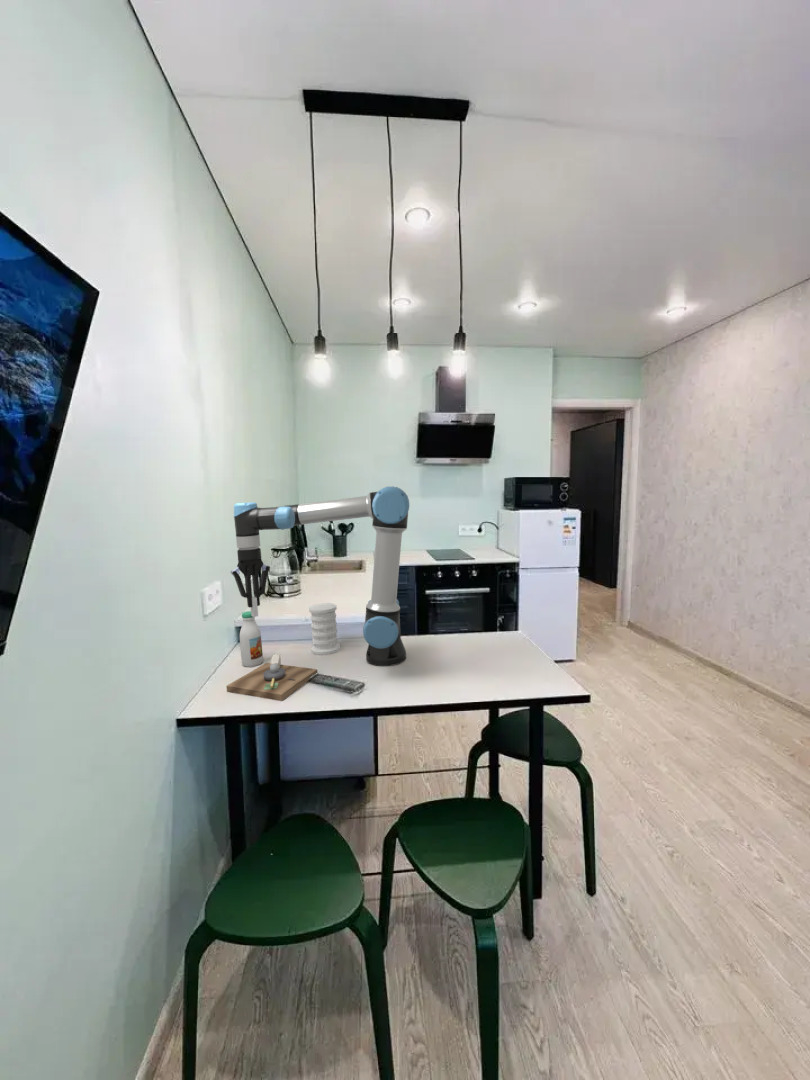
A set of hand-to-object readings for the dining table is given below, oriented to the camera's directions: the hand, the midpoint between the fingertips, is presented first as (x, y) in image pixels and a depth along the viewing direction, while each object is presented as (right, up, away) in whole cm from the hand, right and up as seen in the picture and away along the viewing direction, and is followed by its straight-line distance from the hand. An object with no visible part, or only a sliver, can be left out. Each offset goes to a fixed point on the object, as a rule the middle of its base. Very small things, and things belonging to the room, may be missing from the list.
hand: (254, 615), depth 150 cm
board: (+7, -22, -2) cm, 24 cm away
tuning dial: (+8, -20, -3) cm, 22 cm away
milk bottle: (-6, -21, +16) cm, 27 cm away
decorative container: (+20, -19, +27) cm, 38 cm away
